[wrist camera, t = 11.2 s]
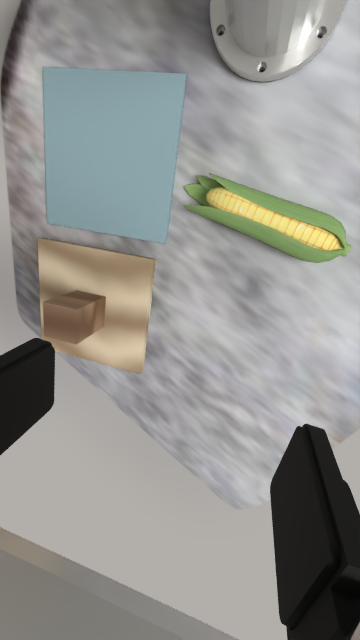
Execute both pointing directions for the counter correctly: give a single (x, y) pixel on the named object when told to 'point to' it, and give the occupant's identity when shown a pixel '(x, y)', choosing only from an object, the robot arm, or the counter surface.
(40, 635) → the robot arm
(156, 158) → the mat
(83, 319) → the lid
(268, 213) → the edible corn
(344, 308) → the counter surface
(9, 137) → the counter surface
